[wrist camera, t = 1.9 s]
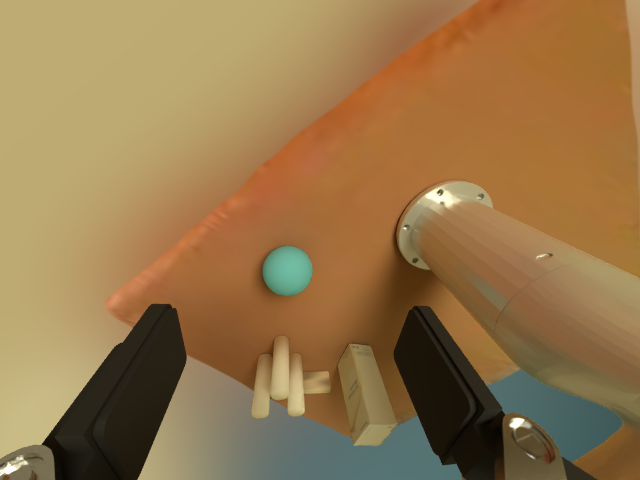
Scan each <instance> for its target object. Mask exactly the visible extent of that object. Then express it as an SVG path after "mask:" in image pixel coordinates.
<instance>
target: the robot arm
mask: <svg viewBox="0 0 640 480" xmlns="http://www.w3.org/2000/svg"><path fill="white" fill-rule="evenodd" d="M396 239H397V245H398V248H399V250H400V252H401V254H402V255H403V257H404V258H405V259H406V260H407V261H408V262H409V263H410V264H412V265H413V266H415V267H418V268H421V269H425V270H431V271H432V272H433V273H434V274H435V275H436V276H437V277H438V279H439V280H440V281H441V282H442V283H443V284H444V285H445V286H446V288H447V289H448V290H449V291H450V292H451V293H452V294H453V295H454V296H455V298H456V299H457V300H458V301H459V302H460V303H461V304H462V305H463V307H464V308H465V309H466V310H467V311H468V312H469V313H470V314H471V316H472V317H473V318H474V319H475V320H476V321H477V322H478V323H479V325H480V326H481V327H482V328H483V329H484V330H485V331H486V332H487V333H488V335H489V336H490V337H491V338H492V339H493V340H494V341H495V342H496V344H497V345H498V346H499V347H500V348H501V349H502V350H503V351H504V352H505V353H506V354H507V355H508V357H509V358H510V359H511V360H512V361H513V362H514V363H515V364H516V365H517V366H519V367H520V368H521V369H522V370H523V371H525V372H526V373H527V374H529V375H530V376H532V377H533V378H535V379H536V380H538V381H540V382H542V383H544V384H546V385H548V386H550V387H553V388H555V389H557V390H560V391H563V392H566V393H569V394H572V395H575V396H578V397H581V398H584V399H586V400H590V401H592V402H595V403H597V404H599V405H602V406H604V407H606V408H608V409H610V410H611V411H613V412H615V413H616V414H618V415H619V416H620V417H621V419H622V420H623V425H622V427H621V428H620V429H619V430H618V431H617V432H615V433H614V434H613V435H611V436H610V437H609V438H608V439H607V441H606V442H604V443H602V444H601V445H599V446H598V447H596V448H594V449H593V450H591V451H590V452H588V453H587V454H585V455H584V456H582V457H580V458H579V459H577V460H576V461H574V462H572V463H571V462H569V461H568V460H566V459H565V458H563V457H562V456H561V454H560V451H559V449H558V447H557V446H556V444H555V442H554V441H553V439H552V438H551V437H550V436H549V435H548V434H547V432H546V431H545V430H544V429H543V428H541V427H540V426H539V425H538V424H537V423H535V422H534V421H532V420H531V419H529V418H528V417H525V416H523V415H521V414H517V413H509V414H506V415H505V414H504V412H503V411H502V407H501V406H500V404H499V403H498V401H497V400H496V399H495V397H494V396H493V394H492V393H491V392H490V390H489V389H488V387H487V386H486V385H485V383H484V382H483V380H482V379H481V378H480V376H479V375H478V373H477V372H476V371H475V369H474V368H473V366H472V365H471V364H470V362H469V361H468V359H467V358H466V357H465V355H464V354H463V352H462V351H461V350H460V348H459V347H458V345H457V344H456V343H455V341H454V340H453V338H452V337H451V336H450V334H449V333H448V331H447V330H446V329H445V327H444V326H443V324H442V323H441V322H440V320H439V319H438V317H437V316H436V315H435V313H434V312H433V310H432V309H431V308H430V307H428V306H414V307H413V309H412V310H410V311H409V313H408V315H407V318H406V320H405V323H404V326H403V328H402V331H401V334H400V336H399V339H398V342H397V344H396V347H395V349H394V360H395V362H396V365H397V367H398V369H399V372H400V374H401V377H402V379H403V381H404V384H405V386H406V388H407V391H408V393H409V396H410V398H411V400H412V403H413V405H414V408H415V410H416V412H417V415H418V417H419V419H420V422H421V424H422V427H423V429H424V431H425V434H426V436H427V438H428V441H429V443H430V446H431V448H432V450H433V452H434V453H435V454H436V455H438V456H439V458H440V460H441V463H442V465H449V464H457V466H458V468H459V470H460V472H461V474H462V478H461V480H640V278H638V277H636V276H634V275H632V274H630V273H627V272H625V271H623V270H621V269H619V268H617V267H615V266H613V265H610V264H608V263H606V262H604V261H602V260H600V259H598V258H595V257H593V256H591V255H589V254H587V253H585V252H583V251H581V250H579V249H577V248H575V247H572V246H570V245H568V244H566V243H564V242H562V241H560V240H558V239H556V238H554V237H552V236H549V235H547V234H545V233H543V232H541V231H539V230H537V229H535V228H533V227H531V226H528V225H526V224H524V223H522V222H520V221H518V220H516V219H514V218H512V217H510V216H508V215H505V214H503V213H501V212H499V211H497V210H495V209H493V205H492V201H491V199H490V197H489V195H488V194H487V192H485V191H484V190H483V189H482V188H481V187H479V186H477V185H475V184H473V183H470V182H467V181H461V180H452V181H445V182H442V183H438V184H436V185H434V186H432V187H429V188H428V189H426V190H425V191H423V192H422V193H420V194H419V195H418V196H417V197H416V198H415V199H414V200H412V201H411V203H410V204H409V205H408V206H407V208H406V209H405V211H404V212H403V214H402V216H401V218H400V221H399V224H398V226H397V233H396ZM186 357H187V356H186V351H185V346H184V342H183V337H182V332H181V328H180V323H179V319H178V314H177V310H176V308H172V306H171V305H170V304H151V305H150V306H149V307H148V309H147V310H146V311H145V313H144V314H143V315H142V317H141V318H140V320H139V321H138V322H137V324H136V325H135V326H134V328H133V329H132V331H131V332H130V333H129V335H128V336H127V337H126V339H125V340H124V342H123V343H120V344H118V345H116V346H115V347H114V349H113V350H112V351H111V352H110V354H109V355H108V356H107V358H106V359H105V360H104V362H103V363H102V364H101V366H100V367H99V368H98V370H97V371H96V372H95V374H94V375H93V376H92V378H91V379H90V380H89V382H88V383H87V385H86V386H85V387H84V388H83V390H82V391H81V392H80V394H79V395H78V397H77V398H76V399H75V400H74V402H73V403H72V404H71V406H70V408H68V410H67V411H66V413H65V414H64V415H63V417H62V418H61V419H60V421H59V422H58V423H57V425H56V426H55V427H54V429H53V430H52V431H51V433H50V434H49V436H48V437H47V438H46V439H45V441H44V442H43V443H42V445H32V446H28V447H24V448H21V449H19V450H16V451H14V452H12V453H10V454H8V455H6V456H4V457H3V458H1V459H0V480H137V479H138V477H139V475H140V473H141V471H142V468H143V466H144V463H145V461H146V459H147V456H148V454H149V451H150V449H151V446H152V444H153V441H154V439H155V437H156V434H157V432H158V430H159V427H160V425H161V422H162V420H163V418H164V415H165V413H166V410H167V408H168V406H169V403H170V401H171V398H172V395H173V393H174V391H175V389H176V386H177V384H178V381H179V379H180V377H181V374H182V372H183V369H184V367H185V364H186Z"/></svg>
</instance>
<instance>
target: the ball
mask: <svg viewBox="0 0 640 480" xmlns="http://www.w3.org/2000/svg"><path fill="white" fill-rule="evenodd" d="M312 272H313V270H312V264H311V261H310V259H309V257H308V256H307V254H306V253H305V252H304V251H302V250H301V249H299V248H296V247H293V246H283V247H279V248H277V249H275V250H273V251H272V252H271V253H270V254H269V255H268V256H267V258H266V259H265V261H264V264H263V269H262V274H263V279H264V281H265V283H266V285H267V286H268V288H269V289H270V290H271V291H273V292H274V293H276V294H278V295H282V296H292V295H296V294H298V293H300V292H302V291H303V290H304V289H305V288H306V287H307V286H308V284H309V283H310V280H311V278H312Z"/></svg>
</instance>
